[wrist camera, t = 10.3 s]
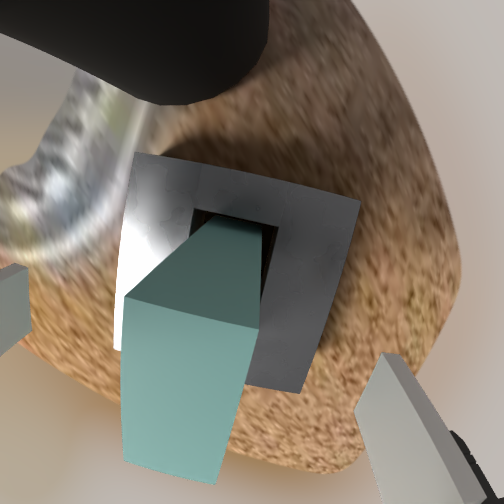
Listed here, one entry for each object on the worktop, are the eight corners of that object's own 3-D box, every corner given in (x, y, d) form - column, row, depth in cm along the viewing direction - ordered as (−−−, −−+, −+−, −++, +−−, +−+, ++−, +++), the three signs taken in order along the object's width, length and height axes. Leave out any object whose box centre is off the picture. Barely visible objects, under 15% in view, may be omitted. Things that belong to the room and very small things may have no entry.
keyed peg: (215, 215, 20) (123, 296, 7) (262, 225, 20) (259, 329, 7) (199, 301, 22) (123, 460, 8) (242, 311, 22) (215, 484, 8)
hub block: (135, 322, 22) (113, 348, 18) (158, 155, 19) (134, 152, 16) (295, 360, 22) (299, 393, 18) (343, 196, 20) (361, 201, 16)
